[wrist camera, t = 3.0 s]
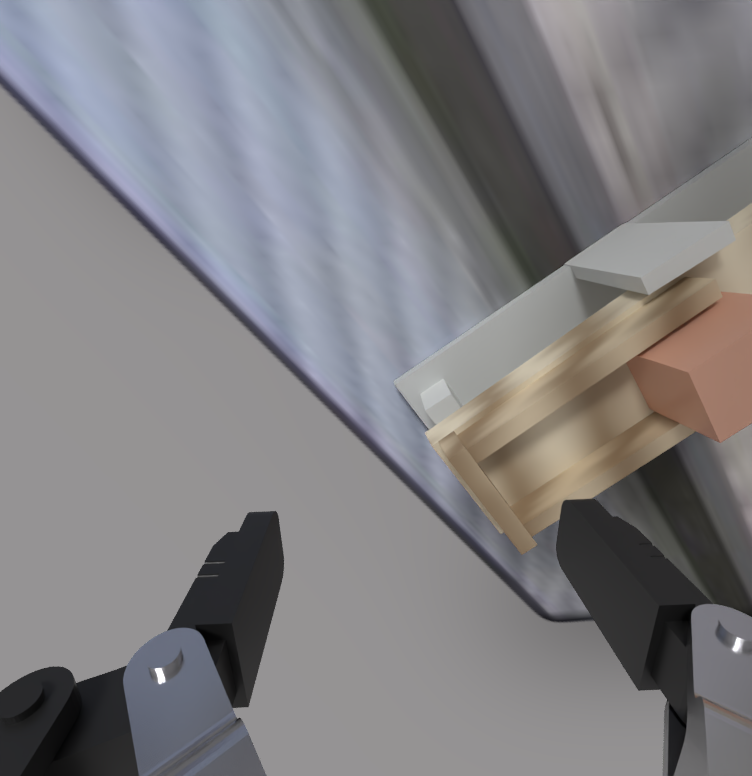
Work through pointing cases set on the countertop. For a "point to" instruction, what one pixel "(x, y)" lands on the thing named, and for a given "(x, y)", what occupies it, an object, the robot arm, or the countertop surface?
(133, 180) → the countertop surface
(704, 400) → the rider
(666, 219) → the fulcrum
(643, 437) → the beam
